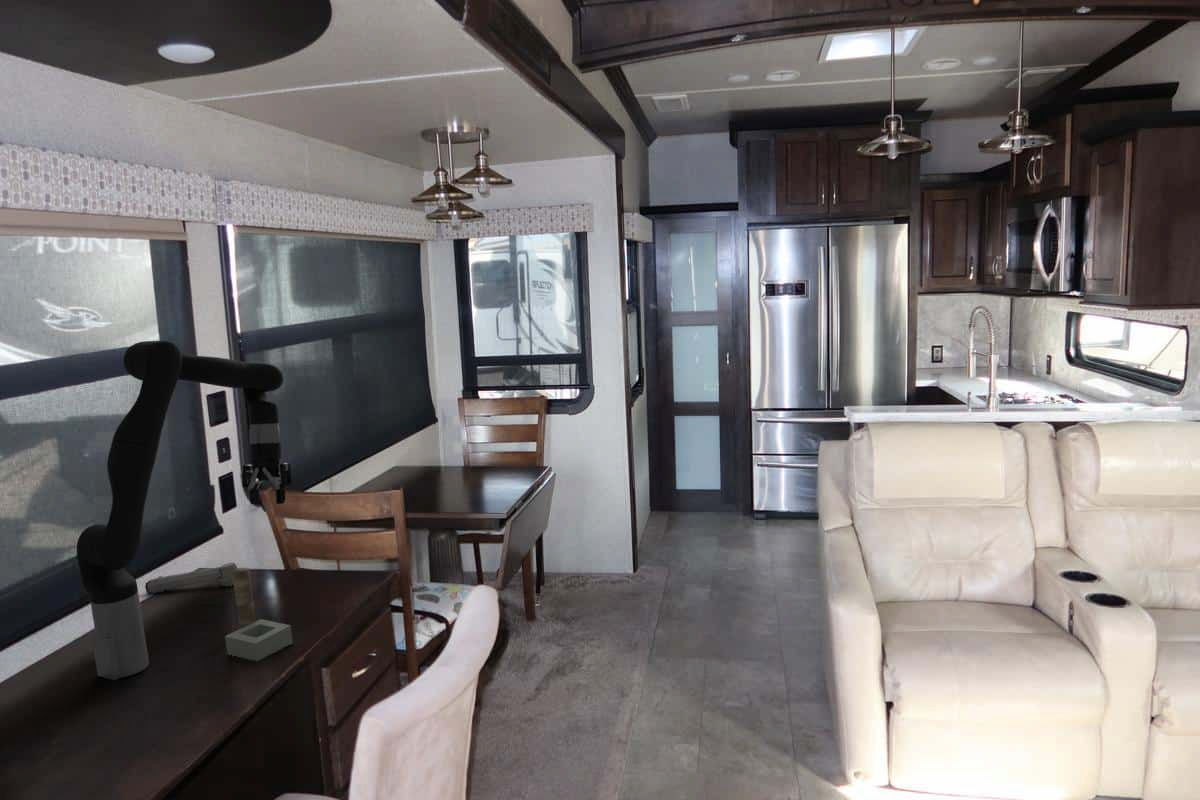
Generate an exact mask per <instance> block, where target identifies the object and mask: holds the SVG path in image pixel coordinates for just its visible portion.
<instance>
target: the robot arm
mask: <svg viewBox="0 0 1200 800" xmlns="http://www.w3.org/2000/svg"><path fill="white" fill-rule="evenodd" d="M123 365H124V367H125V370H126V372H127V373H128V375H130V376H131V377H133V378H134V379H137V380H138V381H142V382H141V385H140V386H141V387H140V390H139V393H138V396H137V399H136V401H135V402H134V404H133V405H132V407H131V408H130V410H129V411H128V412H127V413H126V415H125V416H124V418H123V419H122V420H121V422H120V423H119V425H118V427H117V428H116V430H115V432H114V434H113V437H112V441H111V444H110V448H109V452H108V455H107V456H108V457H107V462H106V463H107V464H106V465H107V467H106V468H107V474H108V475H107V476H108V480H109V483H110V489H111V495H112V496H111V497H112V503H111V509H110V512H109V513H110V514H109V517H108V521H107V524H105V523H97V524H92V525H89V526H88V527H87V528H85V529H84V530H82V532H81V533H80V534H79V537H78V539H77V542H76V559H77V563H78V568H79V573H80V576H81V581H82V582H81V583H82V585H83V588H84V590H85V592H87V595H88V596H89V603H90V606H91V614H92V615H91V616H92V620H93V627H94V632H95V633H93V634H92V635H91V642H92V647H93V653H94V660H95V666H96V673H97V676H98V677H101V678H104V679H109V680H111V681H117V680H118V679H122V678H126V677H130V676H133V675H136V674H137V673H140V672H142V671H144V670H146V669H147V668H148V667H149V665H150V661H149V653H148V648H147V641H146V636H145V628H144V622H143V616H142V615H143V614H142V608H141V601H140V596H139V595H140V594H139V589H138V588H139V587H138V583H137V581H136V578H135V577H133V575H131V574H130V573H129V572H128V571H127V570H126V568H127V567H128V566H130V564H131V563H132V562H133V561H134V559H135V558H136V556H137V554H138V551H139V549H140V543H141V538H142V537H141V536H142V527H143V519H144V513H145V507H146V506H145V505H146V500H147V495H148V491H149V489H150V488H149V486H150V482H151V477H152V473H153V470H154V466H155V463H156V459H157V455H158V451H159V446H160V441H161V436H162V431H163V428H164V424H165V422H166V417H167V413H168V409H169V406H170V404H171V403H170V402H171V399H172V396H173V394H174V391H175V388H176V385H177V383H178V381H179V380H180V381H187V382H193V383H200V384H206V385H212V386H218V387H224V388H230V389H231V388H232V389H242V391H243V394H244V396H245V397H244V398H245V400H246V403H247V404H246V405H247V406H248V410H249V433H248V434H249V438H248V440H249V455H250V456H249V457H250V460H251V461H252V464H251V463H250V464H243V466H242V488H244V489H245V488H246V489H247V490H248V491H249V502H250V504H251V505H258V504H260V489H259V487H260V486H261V484H262V483H263V482H264V481H266V482H267V481H269V482H270V483H272V484H273V485H274V487H275V501H276V503H275V504H277V505H282V504H285V502H286V489H287V488H288V487H291V486H292V474H291V473H292V472H291V471H292V470H291V464H290V463H289V462H283V463H282V462H281V463H280V459H282V447H281V445H282V444H281V443H282V441H281V429H280V424H279V421H280V420H279V407H278V404H277V403H276V402H275V401H270V400H269V399H268V396H267V392H268V393H270V392H275V391H276V390H278V389H280V388H281V386H282V385H283V383H284V374H283V372H282V370H281V369H280V368H279V367H278V366H276V365H274V364H270V363H264V362H245V361H240V360H236V359H231V358H230V359H229V358H226V357H225V358H223V357H216V356H206V355H191V354H183V353H182V352H181V349H180V348H179V346H178V345H177V344H176V343H174V342H172V341H169V340H145V341H144V340H143V341H139V342H135V343H134V344H132V345H130V346H129V347H128V348H127V349H126V350H125V353H124V355H123Z"/></svg>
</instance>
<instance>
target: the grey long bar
mask: <svg viewBox="0 0 1200 800" xmlns="http://www.w3.org/2000/svg"><path fill="white" fill-rule="evenodd" d="M238 568H239V567H238V566H237V564H236V563H235V562H228V563H225V564H222V565H221V566H218V567H212V568H205V569H201V570H200V569H199V570H196V571H195V570H193V571H188V572H184V573H183V572H182V573H178V574H170V575H166V576H162V575H159V576H158V577H156V578H151V579H148V580H149V581H148V582H147V583H146V585H144V587H145V591H146V593H147V595H151V594H158V593H161V592H162V591H164V590H167V591H170V590H176V589H178V588H183V587H187V586H192V585H196V584H199V583H204V582H208V581H212V580H213V581H214V580H217V579H218V581H219V582H220V583H221V584H220V585H221V586H222V585H223V586H225V587H228V586H231V587H233V586H232V585H234V583H233V576H232V571H233V570H235V569H238ZM223 586H222V587H223ZM164 592H165V591H164Z"/></svg>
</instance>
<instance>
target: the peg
mask: <svg viewBox="0 0 1200 800" xmlns="http://www.w3.org/2000/svg"><path fill="white" fill-rule="evenodd" d="M237 568H238V569H235V570H233V571H232V576H233V583H234V586H233V590H234V599H235V606H236V612H237V621H238V626H239V629H241V628H243V627H245V626H248V625H250V624H252V623H254V622H256V621H257V620H256V610H255V604H254V603H255V602H254V596H253V589H252V588H253V587H252V582H251V579H252V578H251V573H250V568H249V567H240V568H239V567H237ZM239 629H238V630H239Z"/></svg>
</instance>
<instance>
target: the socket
mask: <svg viewBox="0 0 1200 800" xmlns="http://www.w3.org/2000/svg"><path fill="white" fill-rule="evenodd" d="M224 640H225V646H226V654H229V655H228V656H230V655H232V656H231V657H234V656H237V657H236V658H238V657H241V658H240V659H242V658H247V659H251V660H256V661H258V660H260V659H262V658H264V657H266V656H268V655H269V654H272V653H274V652H276V651H278V650H280V649H282V648H283V647H286V646H288V645H290V646H292V645H293V644H294V643H293V642H294V641H293V634H292V627H291V625H290V624H285V623H281V622H275V621H272V620H266V619H258V620H256V622H254V623H252V624H250V625H248V626H245V627H243V628H241V629H238V630H235V631H233V632H231V633H229V634H227V635H225V636H224ZM291 644H292V645H291ZM288 647H289V646H288ZM286 648H287V647H286ZM282 650H283V649H282ZM280 651H281V650H280ZM278 652H279V651H278ZM276 653H277V652H276Z"/></svg>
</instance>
